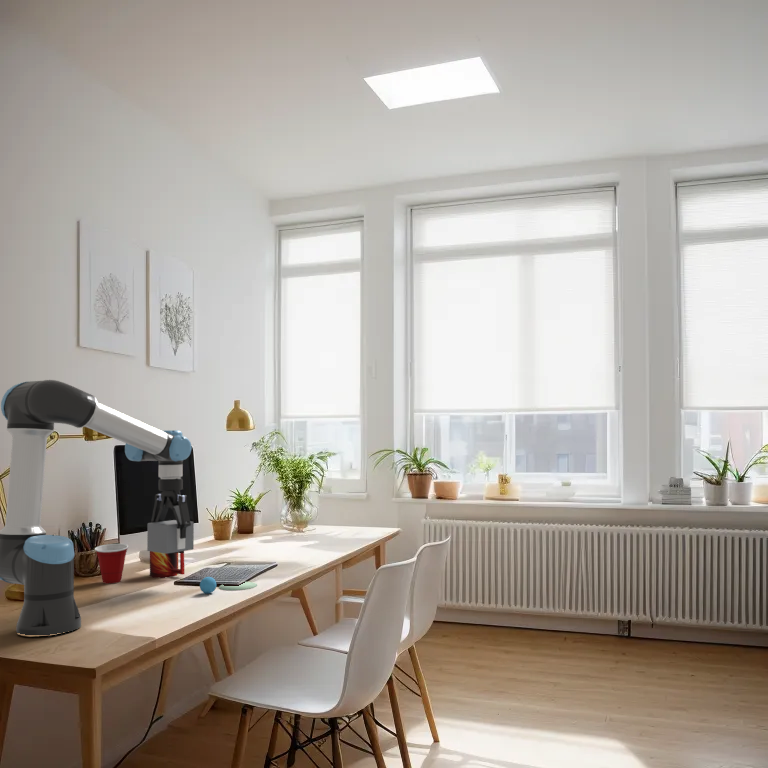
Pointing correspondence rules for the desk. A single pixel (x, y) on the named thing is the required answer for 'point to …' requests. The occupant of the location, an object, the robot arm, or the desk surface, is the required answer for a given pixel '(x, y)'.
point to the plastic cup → (111, 561)
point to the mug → (166, 564)
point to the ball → (208, 585)
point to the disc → (241, 587)
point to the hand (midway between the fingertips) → (170, 547)
